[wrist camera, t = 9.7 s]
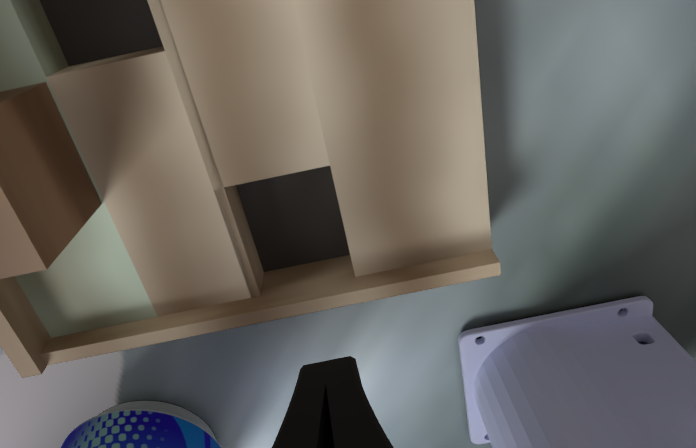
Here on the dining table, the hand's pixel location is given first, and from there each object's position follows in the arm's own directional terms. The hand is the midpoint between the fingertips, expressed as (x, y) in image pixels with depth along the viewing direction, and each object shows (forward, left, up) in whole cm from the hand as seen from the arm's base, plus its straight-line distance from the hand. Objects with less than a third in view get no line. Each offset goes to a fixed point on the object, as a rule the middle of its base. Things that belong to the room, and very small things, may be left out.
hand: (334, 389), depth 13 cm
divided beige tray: (+3, -6, -10) cm, 12 cm away
